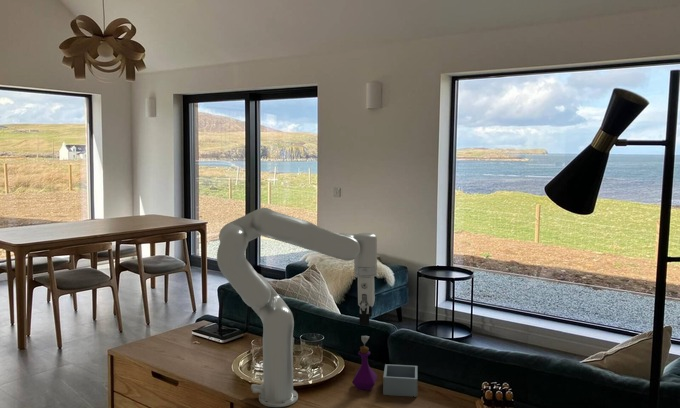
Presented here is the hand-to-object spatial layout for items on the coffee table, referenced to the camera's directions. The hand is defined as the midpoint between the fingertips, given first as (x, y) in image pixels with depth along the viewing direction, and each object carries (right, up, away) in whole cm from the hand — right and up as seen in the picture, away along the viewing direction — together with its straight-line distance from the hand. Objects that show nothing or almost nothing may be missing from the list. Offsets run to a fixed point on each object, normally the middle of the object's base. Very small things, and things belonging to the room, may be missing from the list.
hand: (365, 320), depth 188 cm
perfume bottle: (0, -24, +2) cm, 24 cm away
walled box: (+12, -23, +2) cm, 26 cm away
